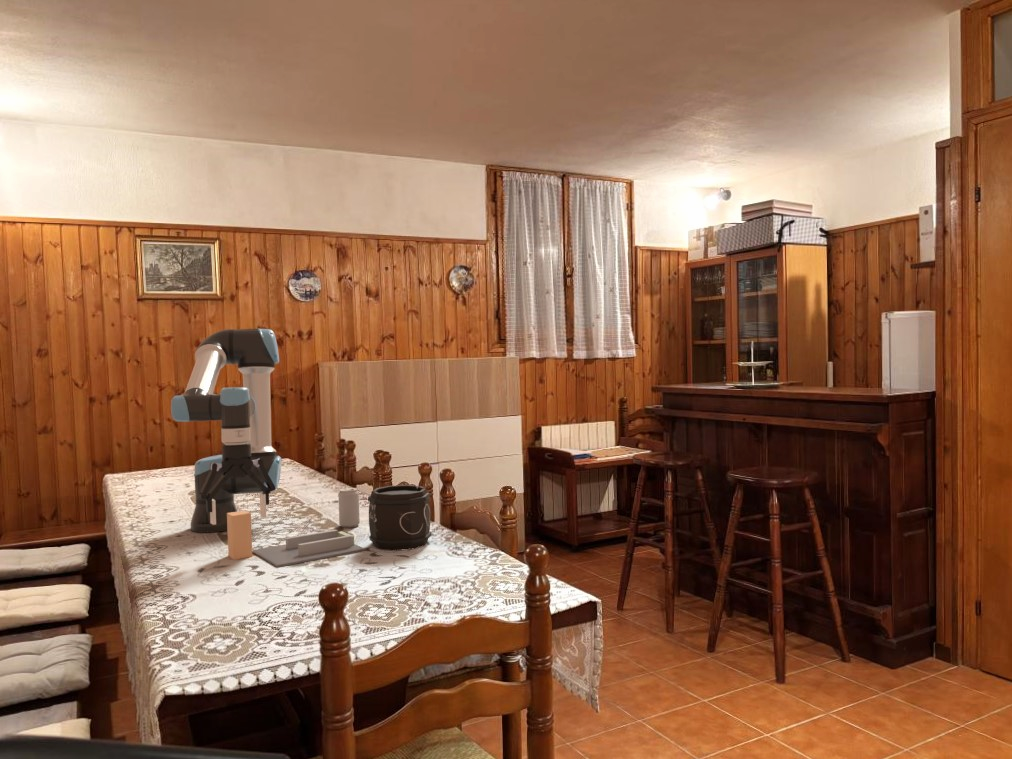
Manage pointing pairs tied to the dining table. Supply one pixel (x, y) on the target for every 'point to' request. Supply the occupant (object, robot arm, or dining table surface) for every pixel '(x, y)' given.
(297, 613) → the dining table surface
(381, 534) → the wooden barrel
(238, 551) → the block
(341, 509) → the beverage can
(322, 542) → the end holder
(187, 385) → the robot arm
